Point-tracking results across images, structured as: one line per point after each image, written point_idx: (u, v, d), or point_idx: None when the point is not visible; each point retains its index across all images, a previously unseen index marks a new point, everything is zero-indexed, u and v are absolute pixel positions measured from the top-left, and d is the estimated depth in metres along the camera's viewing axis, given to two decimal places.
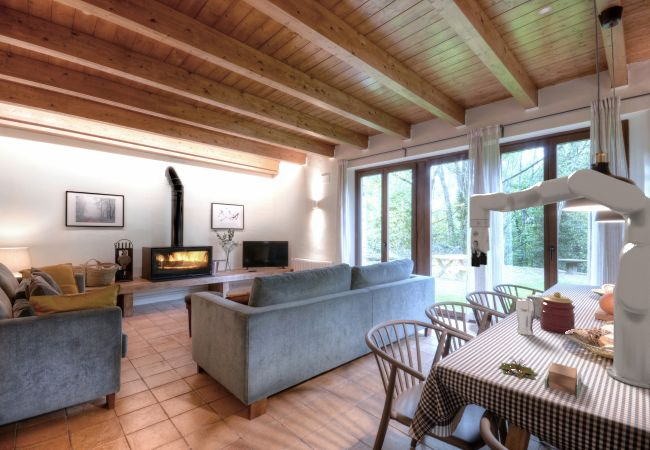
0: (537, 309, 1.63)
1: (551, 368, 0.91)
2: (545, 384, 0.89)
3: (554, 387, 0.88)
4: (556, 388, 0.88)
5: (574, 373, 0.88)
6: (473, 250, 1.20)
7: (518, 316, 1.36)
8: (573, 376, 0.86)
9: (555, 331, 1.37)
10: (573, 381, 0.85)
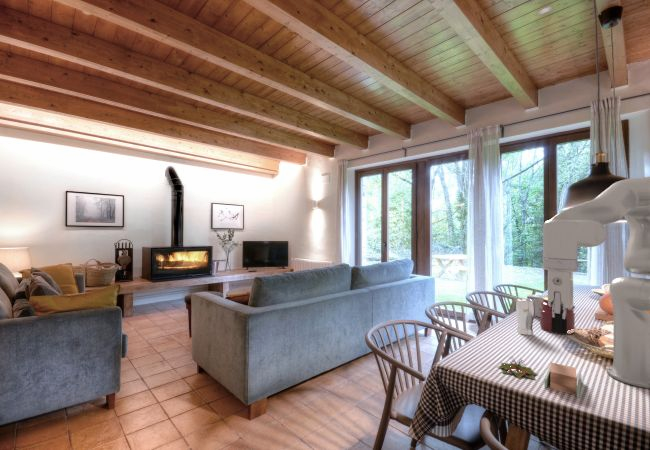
0: (537, 309, 1.63)
1: (551, 369, 0.90)
2: (545, 384, 0.89)
3: (555, 388, 0.88)
4: (558, 389, 0.88)
5: (574, 373, 0.88)
6: (558, 313, 0.80)
7: (518, 316, 1.36)
8: (574, 376, 0.86)
9: None
10: (575, 381, 0.85)
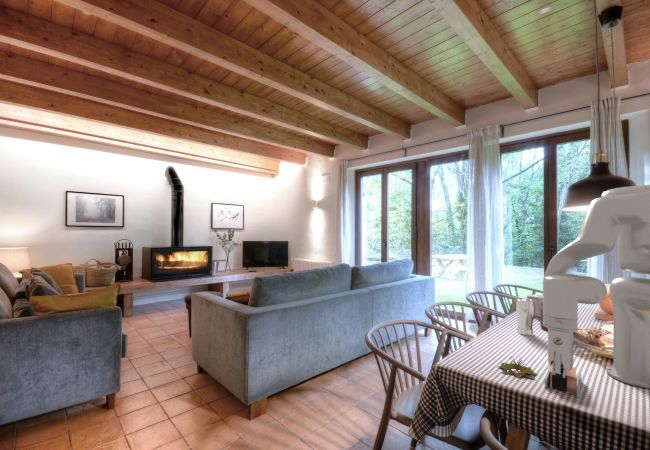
0: (537, 309, 1.63)
1: (551, 369, 0.90)
2: (545, 384, 0.89)
3: None
4: None
5: (574, 373, 0.88)
6: None
7: (518, 316, 1.36)
8: (574, 376, 0.86)
9: None
10: (575, 381, 0.85)
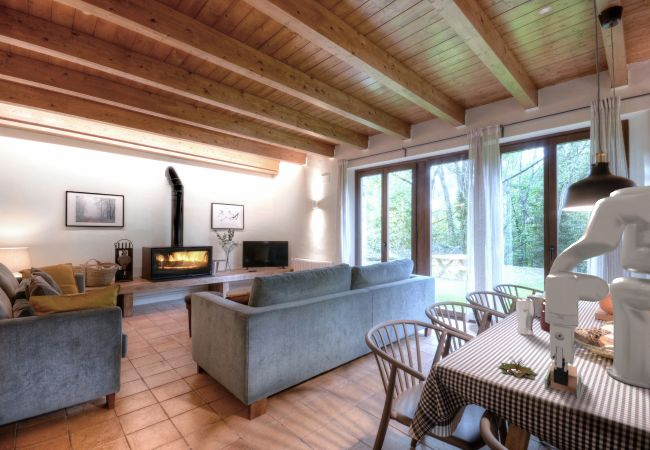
0: (537, 309, 1.63)
1: (552, 368, 0.91)
2: (545, 384, 0.89)
3: (556, 386, 0.89)
4: (558, 387, 0.88)
5: (575, 372, 0.88)
6: None
7: (518, 316, 1.36)
8: (575, 375, 0.87)
9: None
10: (575, 380, 0.86)
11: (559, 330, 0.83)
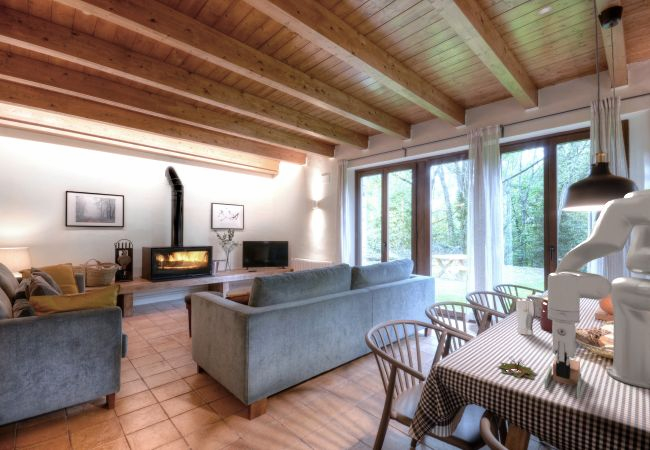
0: (537, 309, 1.63)
1: (555, 361, 0.95)
2: (545, 384, 0.89)
3: (558, 379, 0.93)
4: (560, 380, 0.92)
5: (577, 366, 0.92)
6: None
7: (518, 316, 1.36)
8: (576, 368, 0.91)
9: None
10: (576, 373, 0.90)
11: (561, 326, 0.87)
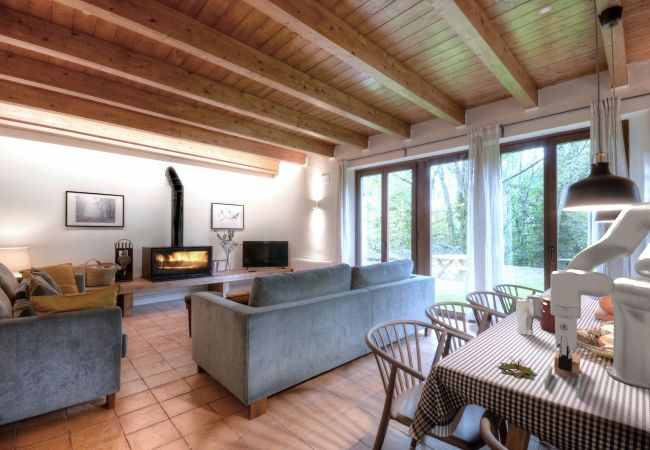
0: (537, 309, 1.63)
1: (556, 355, 1.00)
2: (545, 384, 0.89)
3: (559, 372, 0.98)
4: (561, 373, 0.97)
5: (577, 359, 0.97)
6: (564, 354, 0.92)
7: (518, 316, 1.36)
8: (576, 361, 0.95)
9: None
10: (576, 366, 0.95)
11: (563, 321, 0.92)
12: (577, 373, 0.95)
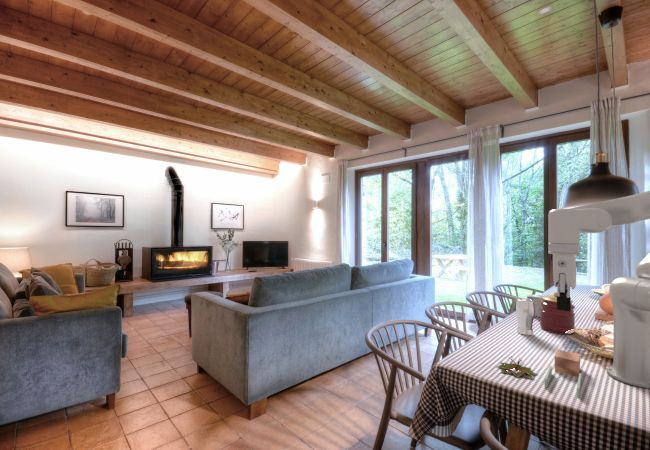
0: (537, 309, 1.63)
1: (556, 354, 1.01)
2: (545, 384, 0.89)
3: (559, 370, 0.99)
4: (561, 371, 0.99)
5: (577, 358, 0.98)
6: (562, 293, 0.89)
7: (518, 316, 1.36)
8: (576, 360, 0.97)
9: (555, 331, 1.37)
10: (576, 364, 0.96)
11: (562, 258, 0.89)
12: (577, 372, 0.96)
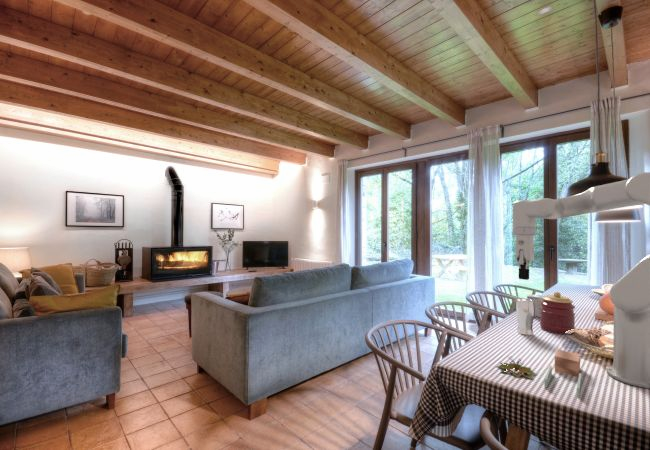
0: (537, 309, 1.63)
1: (557, 354, 1.01)
2: (545, 384, 0.89)
3: (559, 370, 0.99)
4: (561, 371, 0.99)
5: (577, 358, 0.98)
6: (522, 265, 1.16)
7: (518, 316, 1.36)
8: (576, 360, 0.97)
9: (555, 331, 1.37)
10: (576, 364, 0.96)
11: (521, 238, 1.15)
12: (577, 372, 0.96)
